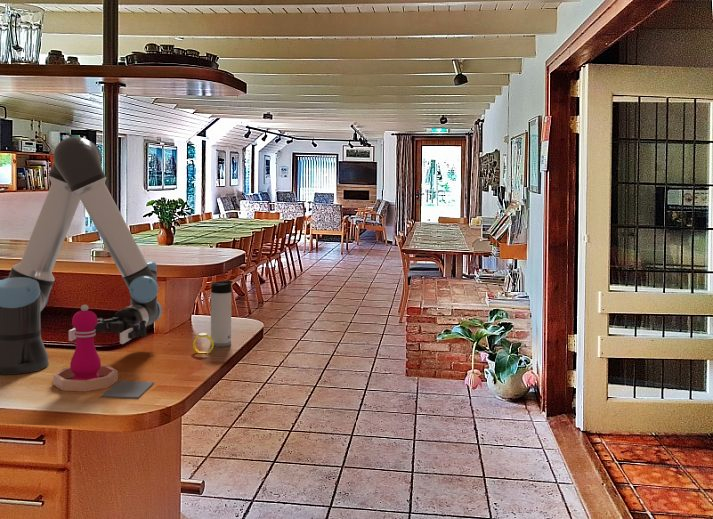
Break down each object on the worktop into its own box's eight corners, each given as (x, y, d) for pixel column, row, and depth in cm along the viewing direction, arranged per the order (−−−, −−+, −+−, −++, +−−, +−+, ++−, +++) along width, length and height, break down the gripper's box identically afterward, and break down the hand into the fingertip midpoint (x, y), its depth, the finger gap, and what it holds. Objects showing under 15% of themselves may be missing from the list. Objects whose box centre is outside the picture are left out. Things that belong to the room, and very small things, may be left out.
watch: (192, 355, 207) (191, 335, 206) (195, 352, 210) (193, 333, 209) (212, 354, 207) (211, 334, 206) (215, 352, 210) (213, 332, 209)
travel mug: (234, 345, 218) (235, 282, 216) (214, 347, 215) (214, 283, 212) (228, 341, 224) (228, 279, 221) (208, 343, 220) (208, 280, 218)
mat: (100, 397, 166) (100, 395, 166) (118, 382, 178) (118, 380, 178) (138, 398, 166) (138, 397, 166) (154, 383, 178) (154, 382, 178)
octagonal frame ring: (45, 389, 170) (45, 379, 170) (70, 373, 184) (70, 364, 184) (102, 391, 170) (102, 381, 170) (123, 375, 184) (123, 366, 184)
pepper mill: (85, 376, 182) (83, 300, 179) (107, 380, 179) (106, 303, 177) (64, 384, 175) (62, 305, 173) (87, 388, 172) (85, 308, 170)
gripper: (172, 335, 199) (142, 354, 178) (88, 330, 201) (49, 348, 180) (172, 309, 198) (142, 325, 177) (88, 304, 201) (48, 320, 180)
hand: (95, 337), depth 179 cm, fingers open, 13 cm apart
